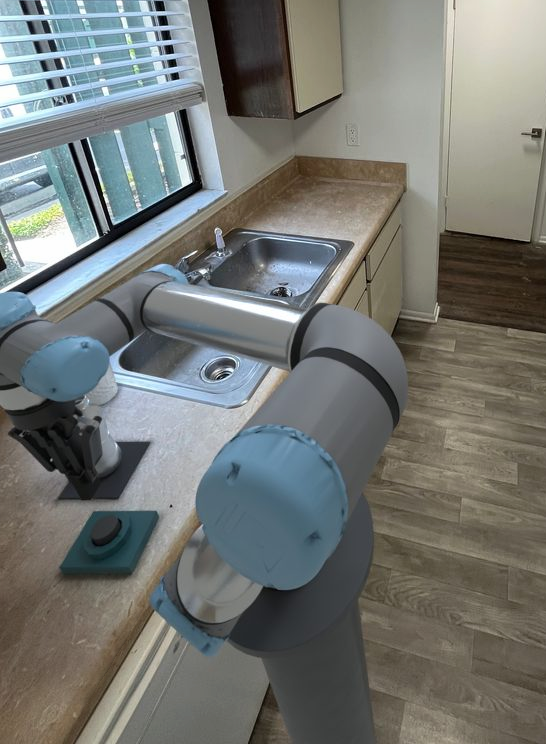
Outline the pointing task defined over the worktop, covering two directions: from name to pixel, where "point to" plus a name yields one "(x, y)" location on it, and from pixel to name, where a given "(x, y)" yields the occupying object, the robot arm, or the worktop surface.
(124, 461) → the mat
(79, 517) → the worktop surface
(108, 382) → the white cup
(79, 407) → the silver bottle
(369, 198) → the worktop surface
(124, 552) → the teal pump base
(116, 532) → the button
